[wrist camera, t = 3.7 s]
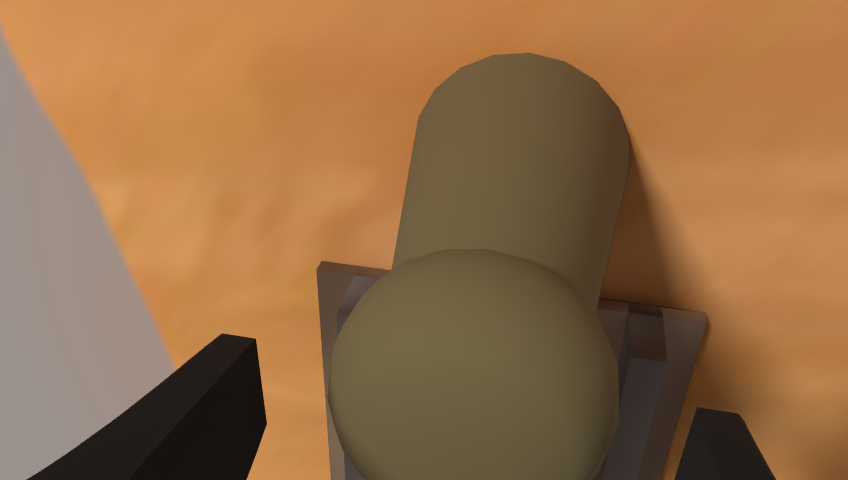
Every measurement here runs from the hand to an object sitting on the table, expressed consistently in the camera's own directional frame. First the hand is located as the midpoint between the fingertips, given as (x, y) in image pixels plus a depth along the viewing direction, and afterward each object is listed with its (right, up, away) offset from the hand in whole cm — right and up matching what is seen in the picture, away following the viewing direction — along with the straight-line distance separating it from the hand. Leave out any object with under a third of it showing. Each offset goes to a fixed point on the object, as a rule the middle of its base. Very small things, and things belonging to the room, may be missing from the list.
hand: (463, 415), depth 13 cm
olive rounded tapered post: (+2, +5, +9) cm, 11 cm away
